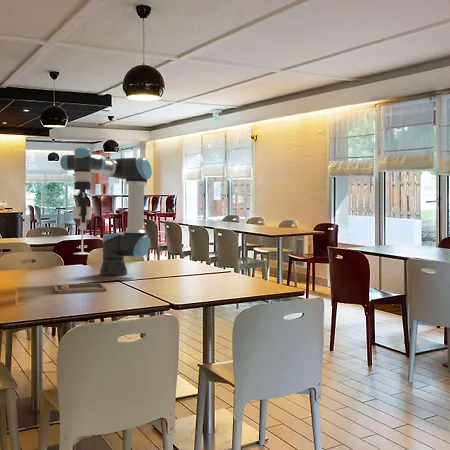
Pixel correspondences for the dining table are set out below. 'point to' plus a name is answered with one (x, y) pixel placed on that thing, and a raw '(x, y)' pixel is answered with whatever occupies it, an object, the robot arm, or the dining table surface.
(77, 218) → the wineglass
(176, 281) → the dining table surface
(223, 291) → the dining table surface
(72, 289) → the tray
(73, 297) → the dining table surface
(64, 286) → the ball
